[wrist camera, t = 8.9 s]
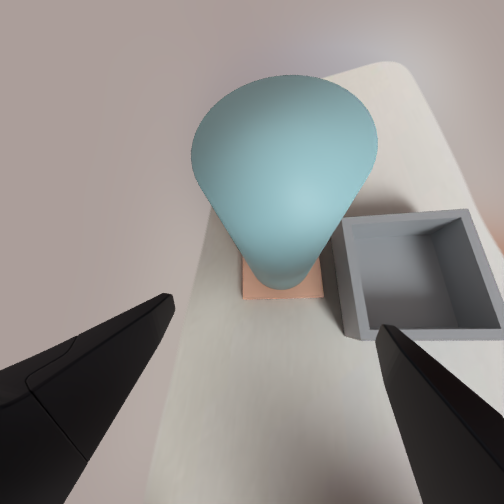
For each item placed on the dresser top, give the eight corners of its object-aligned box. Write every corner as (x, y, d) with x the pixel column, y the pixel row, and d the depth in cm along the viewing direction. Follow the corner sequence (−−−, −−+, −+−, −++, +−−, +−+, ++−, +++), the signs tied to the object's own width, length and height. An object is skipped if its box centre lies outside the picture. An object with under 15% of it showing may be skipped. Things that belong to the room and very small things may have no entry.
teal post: (319, 279, 17) (417, 185, 5) (260, 297, 17) (211, 249, 5) (298, 225, 18) (331, 54, 6) (244, 242, 18) (178, 107, 7)
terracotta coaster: (322, 297, 17) (323, 296, 16) (244, 299, 18) (242, 299, 17) (313, 225, 19) (315, 222, 18) (243, 229, 19) (242, 227, 19)
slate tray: (466, 335, 15) (518, 340, 11) (344, 336, 16) (361, 340, 12) (433, 229, 17) (468, 208, 14) (330, 235, 18) (341, 217, 15)
